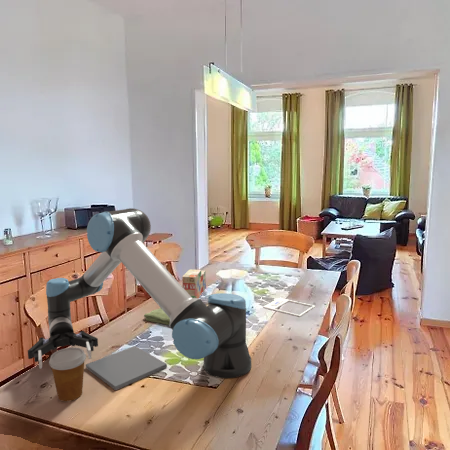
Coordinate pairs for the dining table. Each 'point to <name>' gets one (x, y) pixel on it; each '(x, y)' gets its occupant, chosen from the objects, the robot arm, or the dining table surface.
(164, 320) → the washcloth
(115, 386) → the slate tile
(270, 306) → the photo frame
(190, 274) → the printed cardboard box
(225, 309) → the robot arm
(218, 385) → the dining table surface
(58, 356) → the disposable coffee cup
